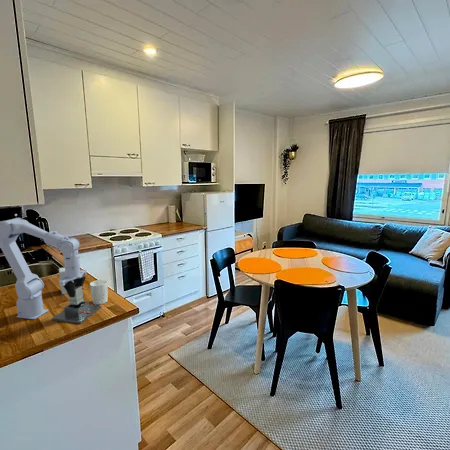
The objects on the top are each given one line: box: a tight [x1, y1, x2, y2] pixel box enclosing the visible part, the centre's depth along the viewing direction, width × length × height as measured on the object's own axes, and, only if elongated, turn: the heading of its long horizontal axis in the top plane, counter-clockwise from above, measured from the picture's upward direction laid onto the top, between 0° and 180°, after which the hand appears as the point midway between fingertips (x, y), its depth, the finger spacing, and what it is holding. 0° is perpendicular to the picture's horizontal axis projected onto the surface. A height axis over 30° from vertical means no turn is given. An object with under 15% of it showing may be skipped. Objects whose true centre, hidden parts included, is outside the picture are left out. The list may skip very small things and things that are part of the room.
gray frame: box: [51, 300, 102, 325], centre depth 123 cm, size 14×14×5 cm
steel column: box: [67, 285, 84, 305], centre depth 121 cm, size 4×4×7 cm
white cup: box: [89, 279, 109, 306], centre depth 134 cm, size 8×8×10 cm
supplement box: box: [58, 266, 74, 295], centre depth 146 cm, size 7×7×13 cm
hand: (75, 294), depth 121 cm, fingers closed on steel column, 4 cm apart
